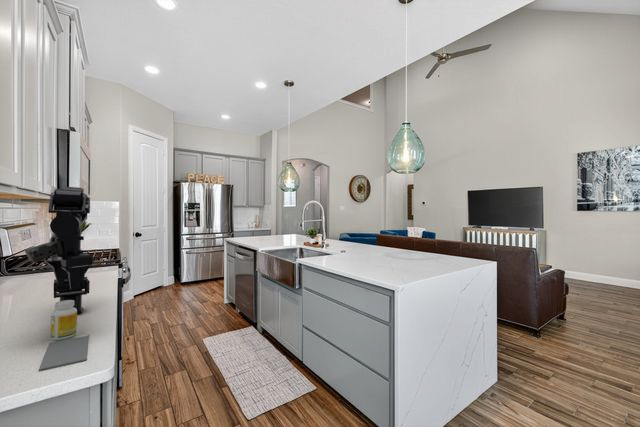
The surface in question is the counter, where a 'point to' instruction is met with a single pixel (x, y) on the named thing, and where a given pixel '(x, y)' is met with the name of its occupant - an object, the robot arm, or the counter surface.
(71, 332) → the supplement bottle
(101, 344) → the counter surface
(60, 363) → the mat
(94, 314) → the counter surface
